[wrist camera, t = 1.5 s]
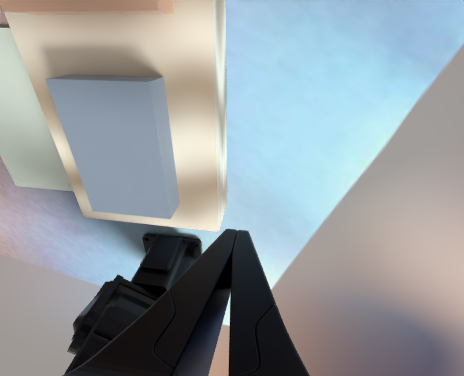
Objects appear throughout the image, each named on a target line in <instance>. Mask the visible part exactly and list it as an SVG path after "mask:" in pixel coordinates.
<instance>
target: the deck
mask: <svg viewBox="0 0 464 376" xmlns="http://www.w3.org/2000/svg"><path fill="white" fill-rule="evenodd" d="M173 8H174V14H121V15H30V14H20V13H9V12H4V14H5V16H6V19H7V21H8V24H9V26H10V29H11V32H12V34H13V37H14V39H15V42H16V44H17V47H18V49H19V52H20V55H21V57H22V60H23V62H24V65H25V67H26V70H27V73H28V75H29V78H30V80H31V83H32V85H33V88H34V91H35V93H36V96H37V98H38V101H39V103H40V106H41V109H42V111H43V114H44V116H45V119H46V121H47V124H48V127H49V129H50V132H51V134H52V137H53V139H54V142H55V145H56V147H57V150H58V152H59V155H60V157H61V160H62V163H63V165H64V168H65V170H66V173H67V175H68V178H69V181H70V183H71V186H72V188H73V191H74V193H75V196H76V199H77V201H78V204H79V206H80V209H81V211H82V214H83V216H84V218H94V219H103V220H112V221H122V222H131V223H141V224H150V225H159V226H169V227H178V228H187V229H197V230H206V231H215V232H219V229H220V226H221V222H222V219H223V216H224V212H225V209H226V205H227V139H226V4H225V0H173ZM70 74H76V75H114V76H151V77H164V83H165V91H166V99H167V106H168V114H169V122H170V130H171V137H172V145H173V153H174V161H175V169H176V176H177V184H178V192H179V200H180V204H179V206H178V207H177V209H176V211H175V213H174V214H173V216H172V218H171V219H163V218H153V217H144V216H134V215H124V214H115V213H105V212H95V211H92V208H91V205H90V202H89V200H88V197H87V194H86V191H85V188H84V186H83V183H82V180H81V177H80V174H79V172H78V169H77V166H76V163H75V161H74V158H73V155H72V152H71V149H70V147H69V144H68V141H67V138H66V136H65V133H64V130H63V127H62V124H61V122H60V119H59V116H58V113H57V111H56V108H55V105H54V102H53V99H52V97H51V94H50V91H49V88H48V86H47V83H46V80H45V79H48V78H53V77H59V76H64V75H70Z"/></svg>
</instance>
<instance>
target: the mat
mask: <svg viewBox="0 0 464 376" xmlns="http://www.w3.org/2000/svg"><path fill="white" fill-rule="evenodd" d="M0 157H1V159H2V160H3V162H4V164H5V166H6V168H7V170H8V172H9V174H10V176H11V178H12V179H13V181H14V183H15V185H16V186H20V187H31V188H42V189H52V190H63V191H73V188H72V186H71V183H70V181H69V178H68V175H67V173H66V170H65V168H64V165H63V163H62V160H61V157H60V155H59V152H58V150H57V147H56V145H55V142H54V139H53V137H52V134H51V132H50V129H49V127H48V124H47V121H46V119H45V116H44V114H43V111H42V109H41V106H40V103H39V101H38V98H37V96H36V93H35V91H34V88H33V85H32V83H31V80H30V78H29V75H28V73H27V70H26V67H25V65H24V62H23V60H22V57H21V55H20V52H19V49H18V47H17V44H16V42H15V39H14V37H13V34H12V32H11V29H10V28H0Z"/></svg>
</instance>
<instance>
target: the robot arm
mask: <svg viewBox="0 0 464 376" xmlns="http://www.w3.org/2000/svg"><path fill="white" fill-rule="evenodd" d="M142 239H143V243H144V247H145V251H146V255H145V257H144V259H143V260H142V262H141V264H140V267H139V268H138V270H137V272H136V273H135V275H134V277H133V278H132V280H131V282H130V281H128V280H126V279H124V278H123V277H122V276H120V275H117V276H116V278H115V279H114V281H110V282H105V283H104V285H103V286H102V288H101V289H100V291H99V292H98V293H97V295H96V296H95V297H94V299H93V300H92V301H91V302H90V303H89V305H88V306H87V307H86V308H85V309H84V310H83V311H82V313H81V314H80V315H79V316H78V317H77V319H76V320H75V322H74V323H73V328H74V335H73V337H72V340H73V341H72V343H71V345H70V347H69V349H68V352H70V353H72V354H74V355H76V356H75V357H74V359H73V361H72V363H71V364H70V366H69V367H68V369H67V371H66V372H65V374H64V375H63V376H208V374H209V370H210V367H211V363H212V359H213V355H214V352H215V348H216V344H217V341H218V336H219V333H220V330H221V326H222V322H223V318H224V315H225V311H226V307H227V304H228V300H229V296H230V292H231V301H230V341H229V342H230V343H229V376H310V375H309V373H308V372H307V370H306V368H305V366H304V364H303V362H302V360H301V358H300V356H299V354H298V353H297V351H296V349H295V347H294V344H293V342H292V341H291V339H290V337H289V334H288V332H287V330H286V327H285V325H284V323H283V320H282V318H281V315H280V313H279V310H278V308H277V305H276V303H275V300H274V297H273V295H272V292H271V289H270V287H269V284H268V281H267V279H266V276H265V273H264V271H263V268H262V265H261V263H260V260H259V257H258V255H257V252H256V250H255V247H254V244H253V242H252V239H251V236H250V234H249V232H248V231H245V230H238V231H237V230H235V229H226V230H225V231H224V232H223V233H222V234H221V235H220V236H219V237H218V238H217V239H216V240H215V241H214V242H213V243H212V244H211V245H210V246H209V247H208V249H207V250H206V251H205V252H204V253H203V254H202V243H201V241H200V240H199V239H193V238H184V237H175V236H166V235H157V234H148V233H146V234H144V236H143V238H142ZM196 243H197V244H196Z"/></svg>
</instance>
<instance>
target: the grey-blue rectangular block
mask: <svg viewBox="0 0 464 376" xmlns="http://www.w3.org/2000/svg"><path fill="white" fill-rule="evenodd" d="M45 80H46V83H47V86H48V88H49V91H50V94H51V97H52V99H53V102H54V105H55V108H56V111H57V113H58V116H59V119H60V122H61V124H62V127H63V130H64V133H65V136H66V138H67V141H68V144H69V147H70V149H71V152H72V155H73V158H74V161H75V163H76V166H77V169H78V172H79V174H80V177H81V180H82V183H83V186H84V188H85V191H86V194H87V197H88V200H89V202H90V205H91V208H92V211H95V212H105V213H115V214H124V215H134V216H144V217H153V218H163V219H171V218H172V216H173V214H174V213H175V211H176V209H177V207H178V206H179V204H180V200H179V192H178V184H177V176H176V169H175V161H174V153H173V145H172V137H171V130H170V122H169V114H168V106H167V99H166V91H165V83H164V77H151V76H114V75H76V74H70V75H64V76H59V77H53V78H48V79H45Z"/></svg>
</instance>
